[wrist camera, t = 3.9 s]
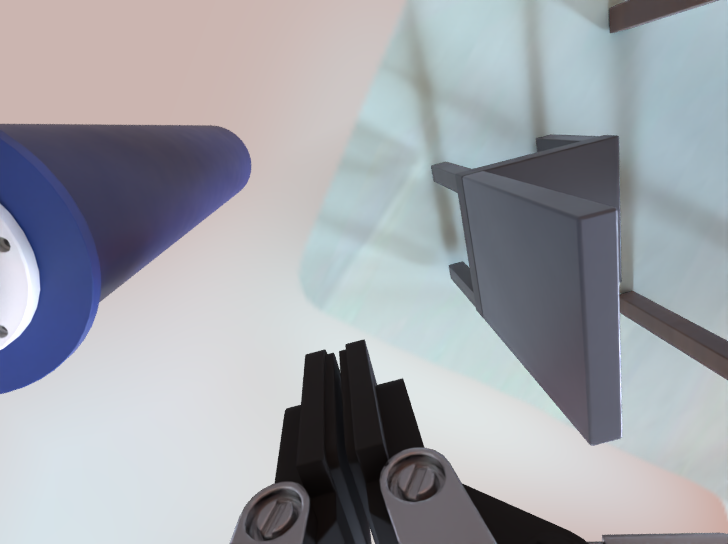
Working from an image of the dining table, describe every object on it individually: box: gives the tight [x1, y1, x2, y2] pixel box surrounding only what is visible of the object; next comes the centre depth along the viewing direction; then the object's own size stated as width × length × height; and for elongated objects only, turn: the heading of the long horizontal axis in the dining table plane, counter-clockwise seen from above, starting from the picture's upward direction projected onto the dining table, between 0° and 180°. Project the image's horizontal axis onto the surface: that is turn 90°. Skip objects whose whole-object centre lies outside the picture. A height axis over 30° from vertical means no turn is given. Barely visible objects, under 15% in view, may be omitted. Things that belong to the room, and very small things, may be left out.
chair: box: [431, 135, 622, 446], centre depth 17 cm, size 7×7×14 cm
